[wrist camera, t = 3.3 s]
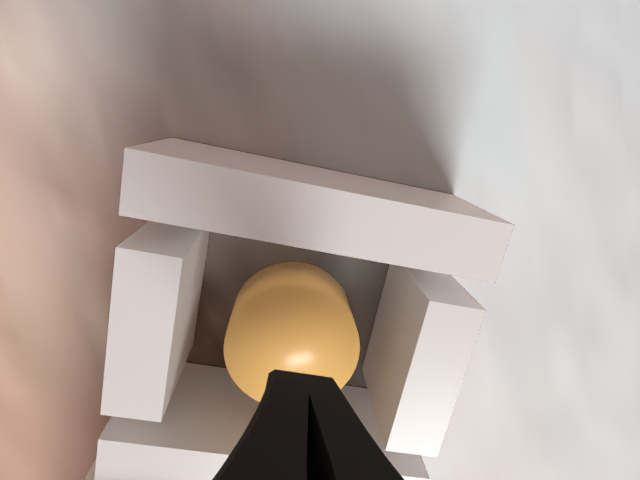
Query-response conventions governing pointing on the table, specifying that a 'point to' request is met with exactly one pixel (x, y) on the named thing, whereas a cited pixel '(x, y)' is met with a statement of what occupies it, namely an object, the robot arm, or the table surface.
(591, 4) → the table surface
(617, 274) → the table surface
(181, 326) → the button guard
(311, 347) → the button
